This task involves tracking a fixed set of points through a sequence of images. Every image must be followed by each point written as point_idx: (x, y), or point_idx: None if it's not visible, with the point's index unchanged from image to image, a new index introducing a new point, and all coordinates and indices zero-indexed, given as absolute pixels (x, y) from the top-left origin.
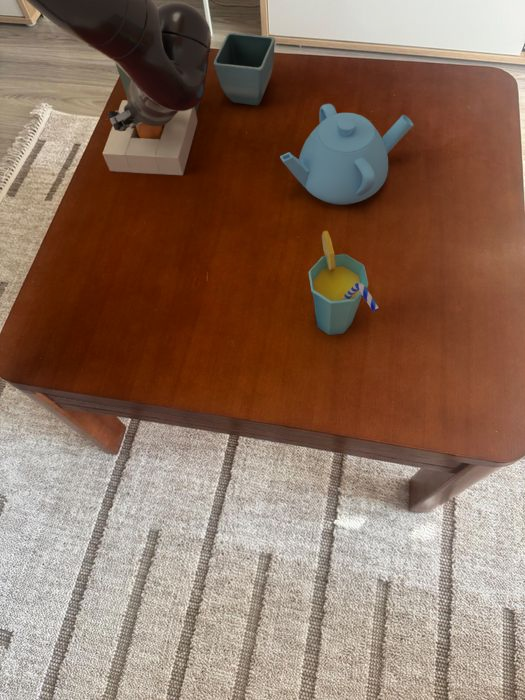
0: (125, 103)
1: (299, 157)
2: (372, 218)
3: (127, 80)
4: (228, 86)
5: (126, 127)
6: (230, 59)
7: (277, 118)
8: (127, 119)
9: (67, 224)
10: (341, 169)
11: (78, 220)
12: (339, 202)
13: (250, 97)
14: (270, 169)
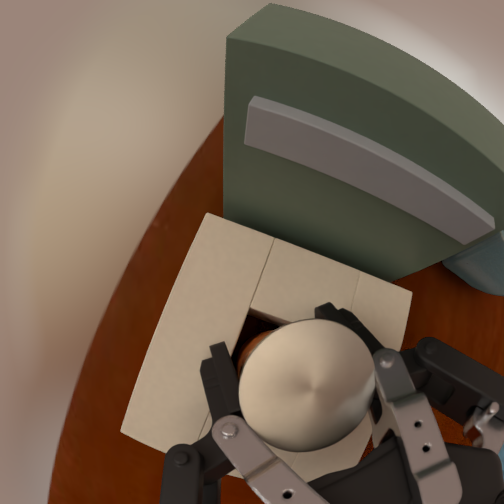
0: (214, 230)
1: (501, 451)
2: None
3: (247, 177)
4: (475, 265)
5: (220, 493)
6: None
7: (487, 323)
8: (229, 465)
9: (68, 492)
10: None
11: (85, 496)
12: None
13: (482, 286)
14: (457, 443)
